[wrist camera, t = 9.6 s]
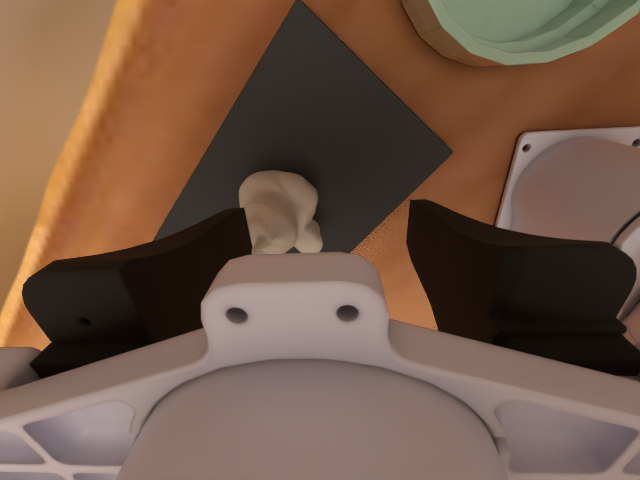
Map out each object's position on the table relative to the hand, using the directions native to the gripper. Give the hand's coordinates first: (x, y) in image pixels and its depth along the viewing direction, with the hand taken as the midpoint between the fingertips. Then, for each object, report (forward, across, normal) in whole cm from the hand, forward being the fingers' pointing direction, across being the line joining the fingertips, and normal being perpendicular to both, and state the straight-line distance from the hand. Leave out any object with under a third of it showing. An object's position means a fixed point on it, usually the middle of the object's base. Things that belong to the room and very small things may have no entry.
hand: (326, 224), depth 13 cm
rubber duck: (+9, +3, +2) cm, 10 cm away
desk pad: (+10, +3, +2) cm, 11 cm away
